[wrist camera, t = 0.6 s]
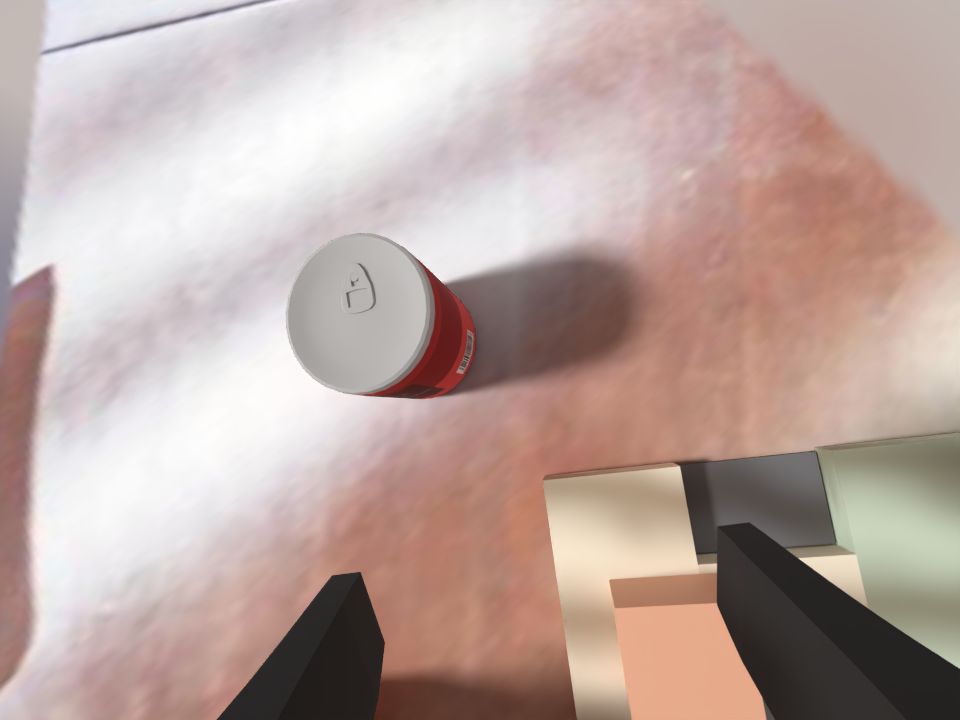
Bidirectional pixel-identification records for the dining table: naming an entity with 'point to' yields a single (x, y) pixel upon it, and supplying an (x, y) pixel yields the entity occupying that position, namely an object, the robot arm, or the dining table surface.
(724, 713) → the block
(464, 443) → the dining table surface
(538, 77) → the dining table surface
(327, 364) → the canned food
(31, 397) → the dining table surface
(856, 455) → the platform
